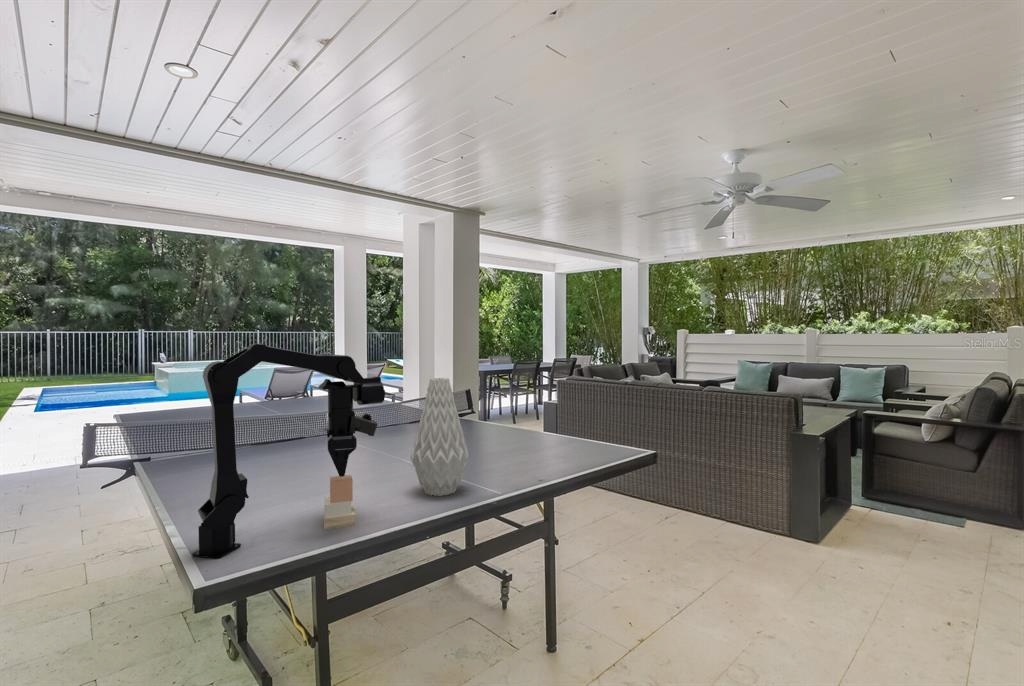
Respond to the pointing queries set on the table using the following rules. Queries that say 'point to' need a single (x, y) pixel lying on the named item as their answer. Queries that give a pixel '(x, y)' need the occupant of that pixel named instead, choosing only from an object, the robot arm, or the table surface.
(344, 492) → the terracotta cube
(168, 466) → the table surface
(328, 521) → the tower base block
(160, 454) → the table surface
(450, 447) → the vase
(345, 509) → the tower top block
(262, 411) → the table surface
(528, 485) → the table surface
